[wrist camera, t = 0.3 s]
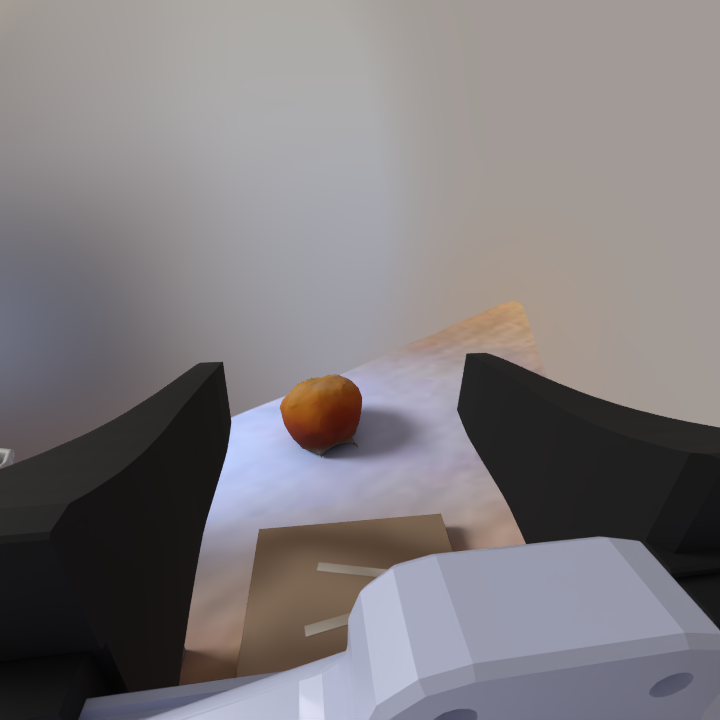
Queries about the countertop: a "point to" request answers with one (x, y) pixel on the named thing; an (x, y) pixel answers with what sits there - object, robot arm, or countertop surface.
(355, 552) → the board
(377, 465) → the countertop surface
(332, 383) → the fruit
